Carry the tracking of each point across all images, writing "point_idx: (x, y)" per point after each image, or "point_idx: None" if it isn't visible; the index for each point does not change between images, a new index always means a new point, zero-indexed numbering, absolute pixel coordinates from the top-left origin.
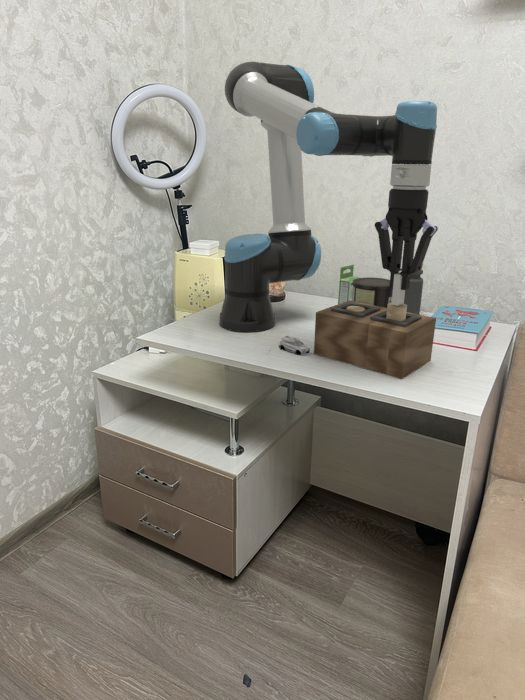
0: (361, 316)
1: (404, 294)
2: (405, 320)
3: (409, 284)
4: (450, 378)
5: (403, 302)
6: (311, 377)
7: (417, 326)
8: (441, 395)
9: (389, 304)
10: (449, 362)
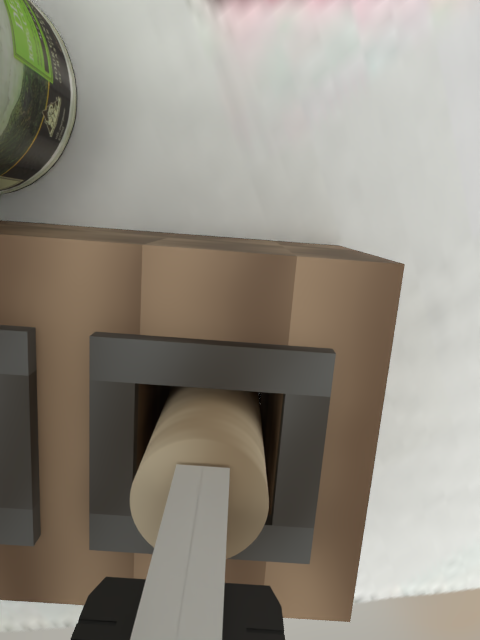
0: (34, 541)
1: (226, 513)
2: (283, 494)
3: (283, 630)
4: (451, 374)
5: (229, 477)
6: (74, 621)
7: (360, 498)
8: (456, 518)
9: (149, 523)
10: (409, 213)
